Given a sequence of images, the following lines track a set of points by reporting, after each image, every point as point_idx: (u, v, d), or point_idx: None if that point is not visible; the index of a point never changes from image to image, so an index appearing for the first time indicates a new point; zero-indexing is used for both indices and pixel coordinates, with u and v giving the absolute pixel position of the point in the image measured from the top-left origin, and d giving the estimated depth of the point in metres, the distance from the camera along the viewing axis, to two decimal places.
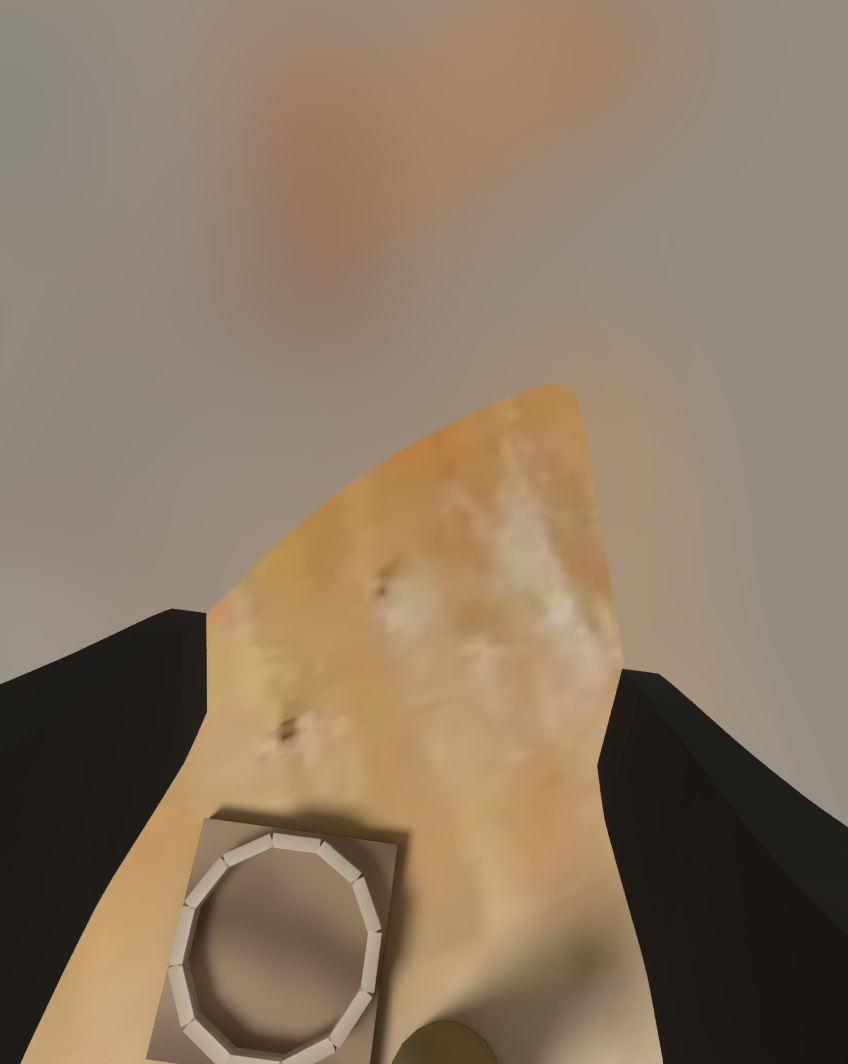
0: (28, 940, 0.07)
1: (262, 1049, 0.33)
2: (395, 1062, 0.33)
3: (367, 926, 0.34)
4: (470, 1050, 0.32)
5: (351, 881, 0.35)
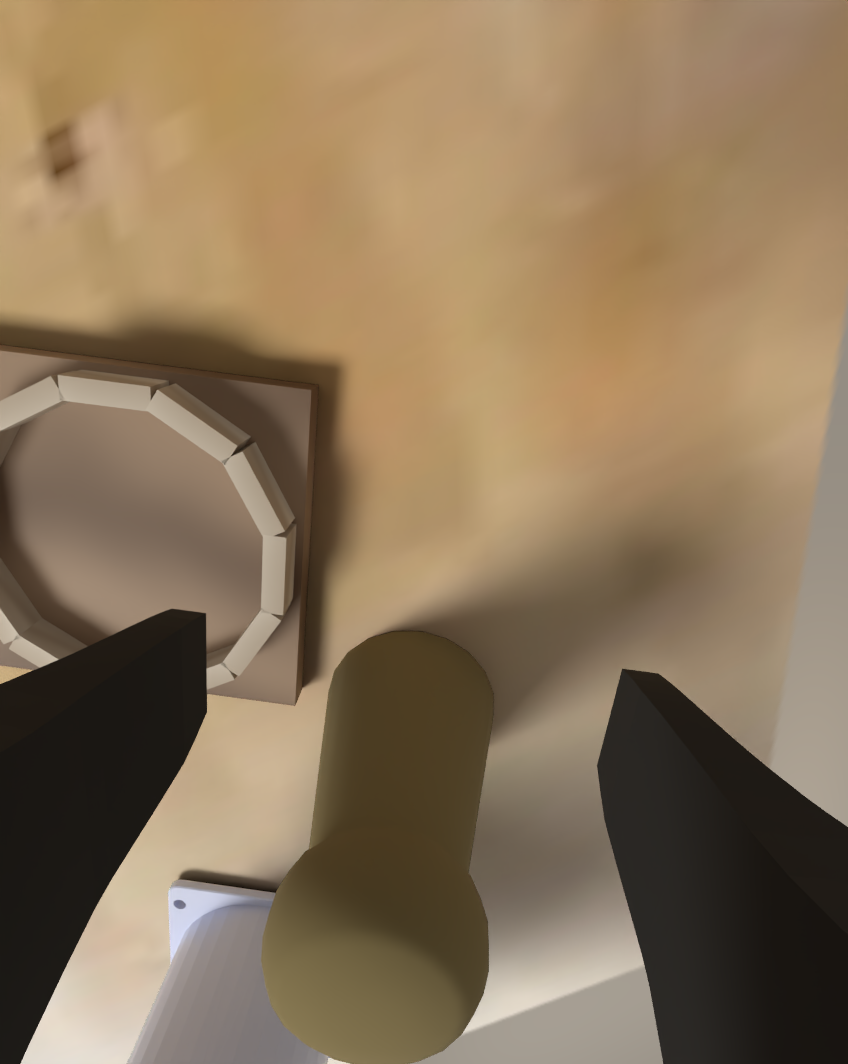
0: (28, 940, 0.07)
1: None
2: (336, 675, 0.23)
3: (260, 527, 0.19)
4: (435, 693, 0.20)
5: (221, 459, 0.19)
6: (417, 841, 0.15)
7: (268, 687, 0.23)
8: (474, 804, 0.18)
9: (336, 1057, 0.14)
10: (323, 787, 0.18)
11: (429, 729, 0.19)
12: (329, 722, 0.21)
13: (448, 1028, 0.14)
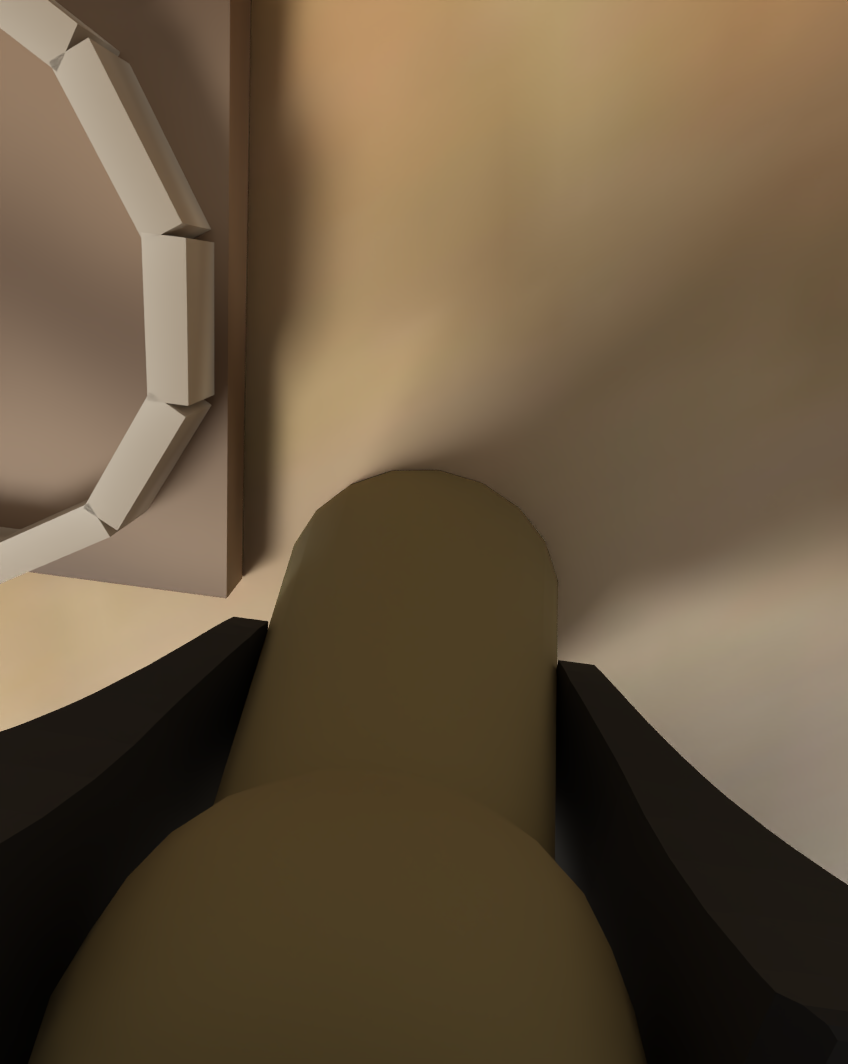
0: None
1: None
2: (296, 547, 0.14)
3: (135, 217, 0.10)
4: (467, 547, 0.11)
5: (48, 57, 0.09)
6: (451, 806, 0.06)
7: (179, 565, 0.13)
8: (554, 744, 0.09)
9: None
10: (246, 708, 0.09)
11: (462, 599, 0.10)
12: (276, 608, 0.12)
13: None
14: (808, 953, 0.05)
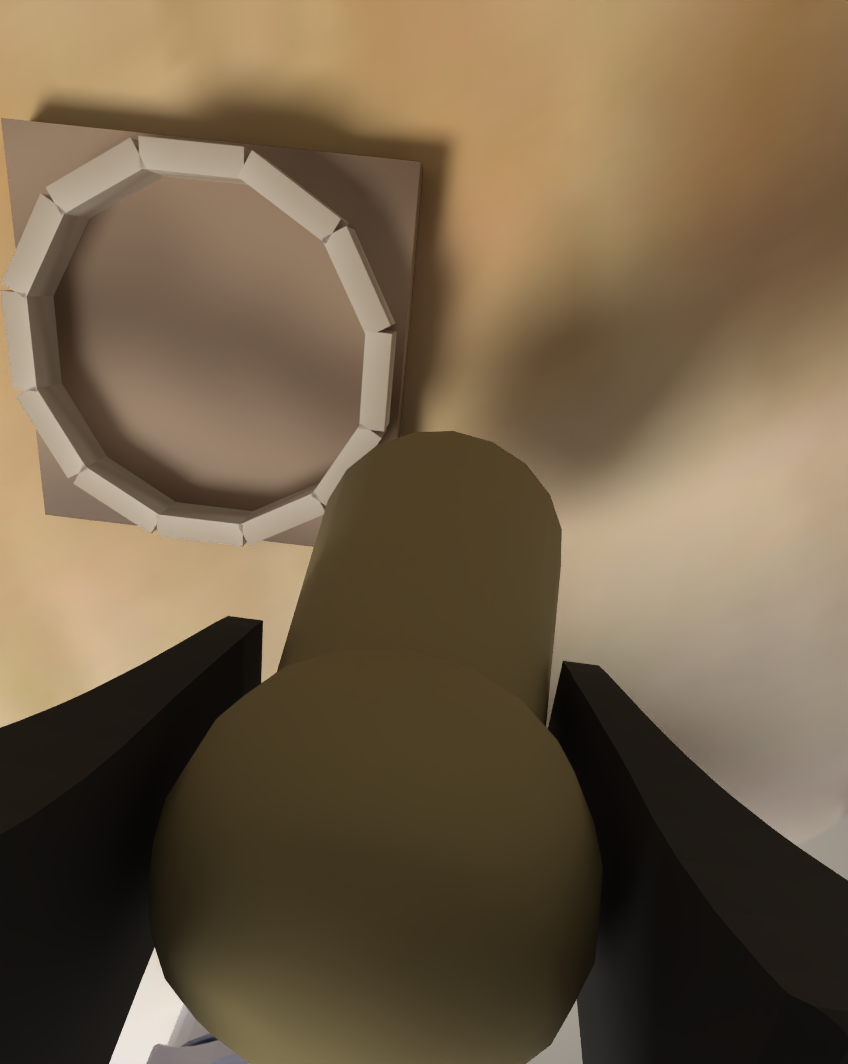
0: (114, 953, 0.07)
1: (217, 504, 0.20)
2: (329, 501, 0.16)
3: (362, 322, 0.17)
4: (477, 494, 0.13)
5: (321, 236, 0.16)
6: (454, 667, 0.08)
7: None
8: (547, 652, 0.11)
9: None
10: (294, 622, 0.11)
11: (470, 533, 0.11)
12: (314, 550, 0.14)
13: (527, 1034, 0.06)
14: (819, 954, 0.05)
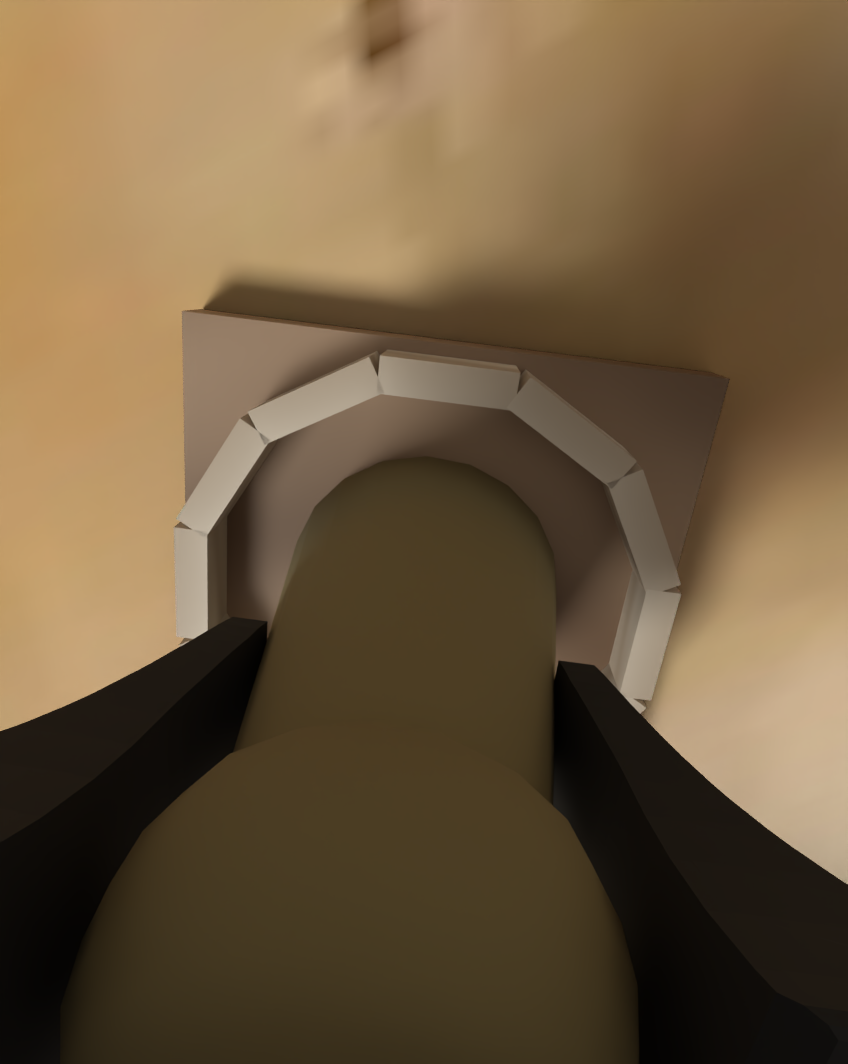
0: None
1: None
2: (297, 543, 0.14)
3: (645, 579, 0.13)
4: (456, 523, 0.11)
5: (608, 480, 0.13)
6: (432, 742, 0.06)
7: None
8: (548, 699, 0.10)
9: None
10: (254, 688, 0.09)
11: (450, 569, 0.10)
12: (280, 599, 0.12)
13: None
14: (808, 954, 0.05)
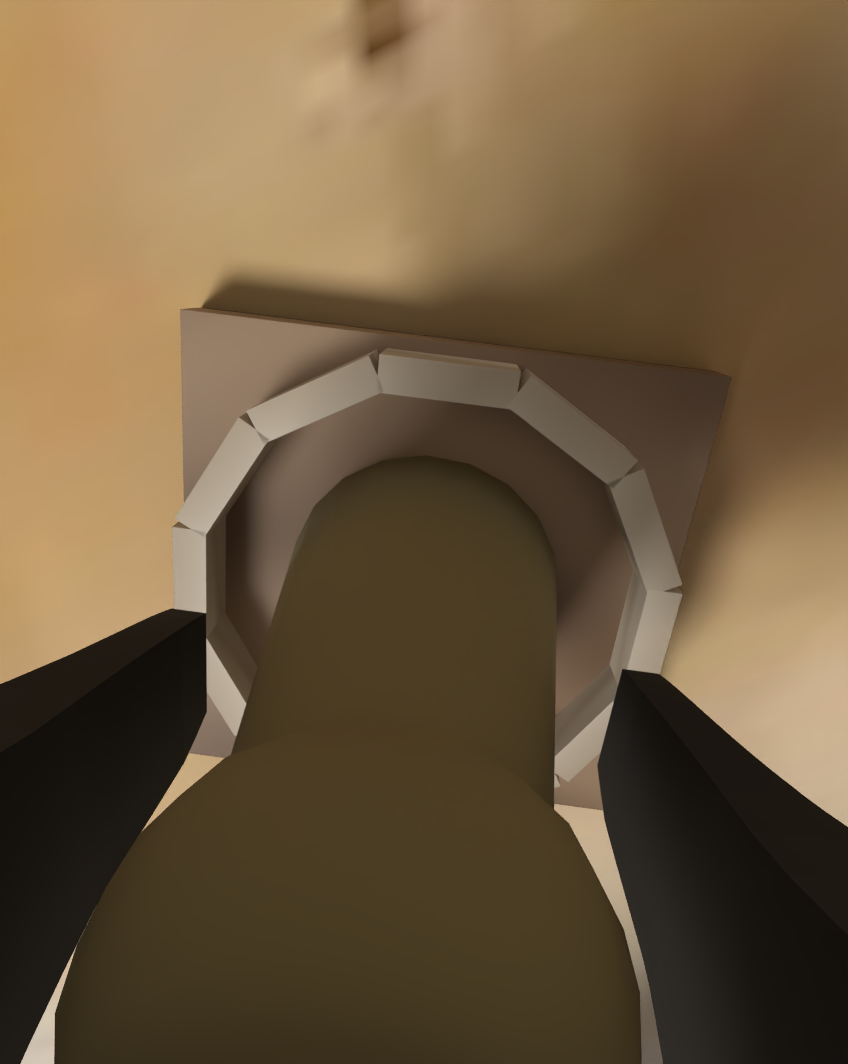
0: (28, 940, 0.07)
1: None
2: (297, 542, 0.14)
3: (646, 579, 0.13)
4: (455, 523, 0.11)
5: (609, 479, 0.13)
6: (431, 745, 0.06)
7: (577, 786, 0.17)
8: (549, 700, 0.10)
9: None
10: (252, 689, 0.09)
11: (449, 569, 0.10)
12: (279, 599, 0.12)
13: None
14: None
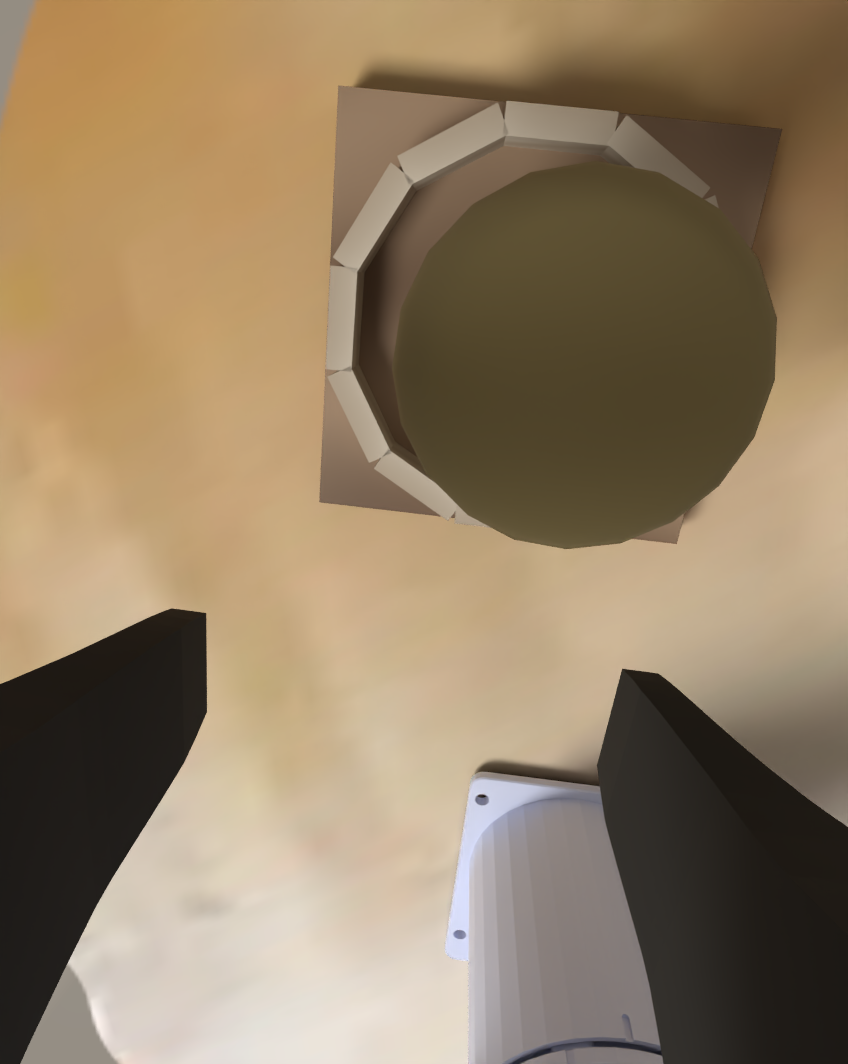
0: (28, 940, 0.07)
1: None
2: None
3: None
4: None
5: None
6: None
7: None
8: None
9: (539, 508, 0.09)
10: None
11: None
12: None
13: (736, 399, 0.08)
14: None
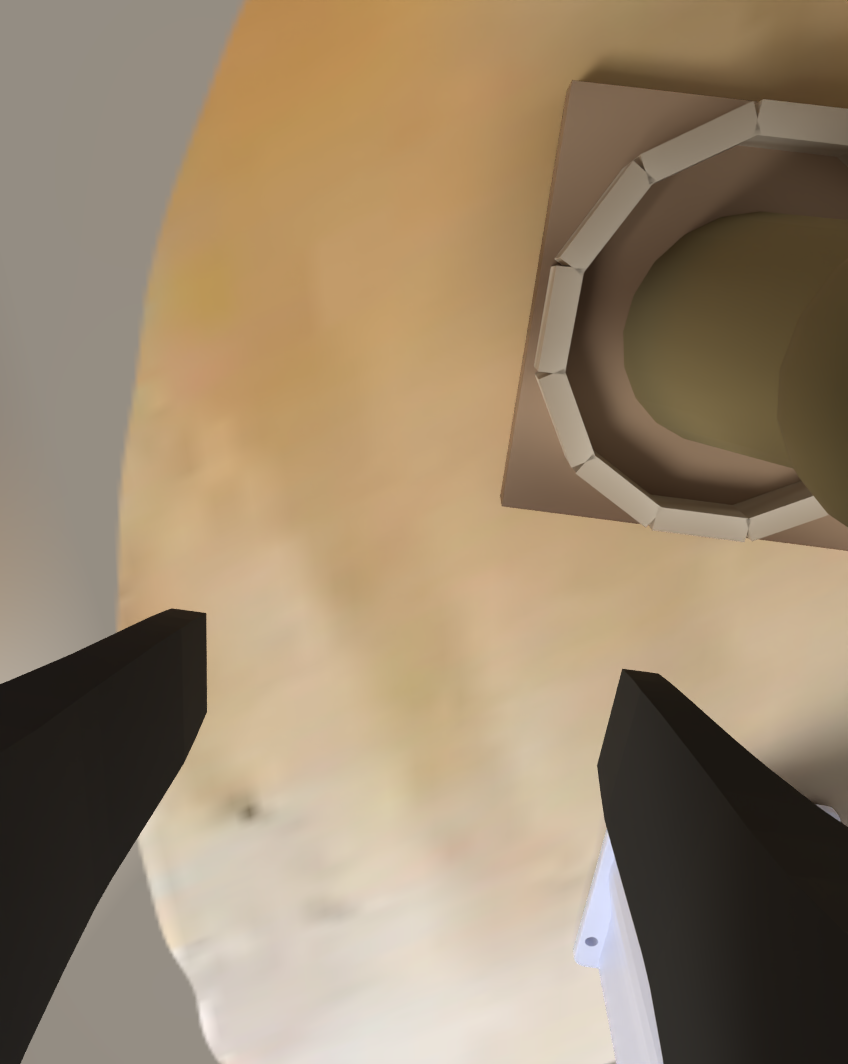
0: (28, 940, 0.07)
1: (695, 497, 0.19)
2: (644, 289, 0.17)
3: None
4: None
5: None
6: None
7: (841, 529, 0.19)
8: None
9: None
10: (745, 303, 0.12)
11: None
12: (680, 299, 0.15)
13: None
14: None
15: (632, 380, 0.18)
